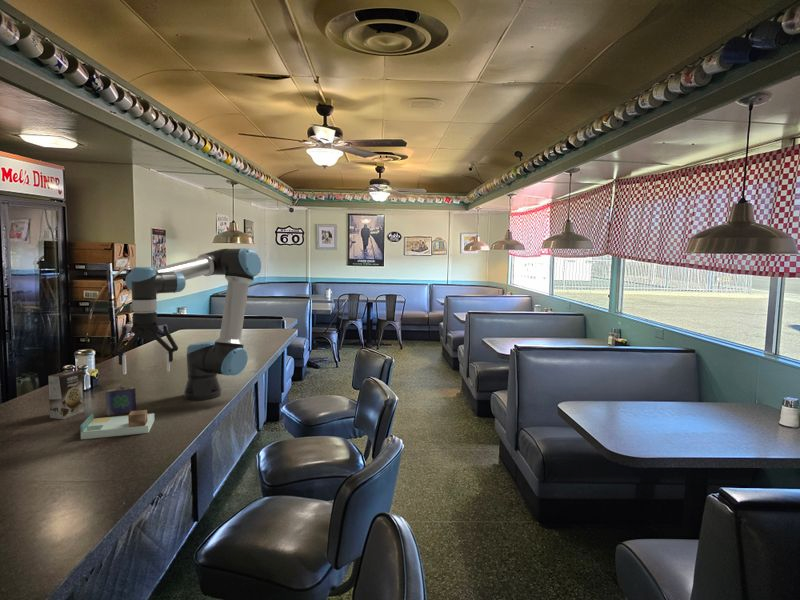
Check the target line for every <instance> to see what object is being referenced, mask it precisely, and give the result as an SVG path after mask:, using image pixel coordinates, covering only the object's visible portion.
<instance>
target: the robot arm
mask: <svg viewBox="0 0 800 600" xmlns="http://www.w3.org/2000/svg"><path fill="white" fill-rule="evenodd" d="M261 269H262V262H261V258H260V256H259V254H258V253H257V251H255V250H254V249H252V248H251V249H250V248H243V247H242V248H221V249H220V248H219V249H217V250H212V251H210V252H206V253H202V254H199V255H198V257H196V258H192V259H187V260H184V261H180V262H175V263H172V264H167V265H163V266H159V267H158V266H157V267H154V266H144V267H143V266H135V267H132V268H131V271H130V272H129V273H127V275H126V277H125V280H124V281H125V286H126V288H127V289H128V290H129V291H131V305H132V306H131V310H132V326H127V325H125V326H123V327H122V329H121V334H120V336H119V339H118V340H117V342H116V344H115V346H114V347H113V349H112V355H117V356H118V364H119V366H122V375H123V376H125V375H126V374H127V354H125V352H126V351H127V350H128V349H129V348H130V347H131V346H132V345H133V343H134V342H135V341H136V340H137V339H140V340H145V339H147V340H148V339H149V340H150V339H152V338H153V339H154V340H155V341H157V342H158V343H159V345H161V347H162V348H164V350H166V351H167V352H166V353H165V354H166V358H165V359H166V372H167V373H169V372H171V371H170V370H171V365H170V364H171V363H172V362H173V360H174V352H176V351H178V350H179V346H178V345H177V343H176V341H175V340H174V338H173V337H172V335H171V332H170V331H169V330H168V328H169V327H168V325H167V324H163V325H159V324H158V313H157V310H158V306H157V305H158V304H157V300H158V298H157V297H158V296H157V295H158V294H170V293H172V294H176V293H180V292H182V291H183V290H185V288H186V283H187V282H186V281H187V280H191V279H194V278H198V277H201V276H204V277H210V276H224V278H225V280H226V281H227V287H226V293H225V300H224V306H223V313H222V320H221V326H220V332H219V337H218V339H216V340H215V341H212V340H210V341H203V342H196V343H192V344H189V345H188V346H187V348H186V367H187V368H186V371H187V381H186V384H185V386H184V389H183V398H184V399H185V400H189V401H202V400H204V401H205V400H210V399H215V398H217V397H220V396H221V395H222V387H221V384H220V382H219V381H220V380H218V379H219V378H218V377H217V375H222V376H229V377H230V376H232V377H233V376H237V375H239V374H241V372H242V371H244V370H245V368H246V366H247V364H248V361H249V356H248V354H247V353H248V352H247V351H246V350H245V348H244V345H245V344H244V343H243V342H242V333H243V327H244V319H245V313H246V307H247V302H248V301H247V300H248V294H249V287H250V285H251V284H252V283H253V282H254V278H255V277H256V276H258V275H259V274H260V272H261ZM159 330H161V332H162V333H163V334H164V335H165V337H166V339H167V340H168V342H169V343H170V345H171V346H170V345H169V344H168V343H167V342H166V341H165V340H164V339H162V337H161V336H160V335H159V334H158V333H157V332H158V331H159ZM130 331H131V332H132V333H133V334H134V335H133V336H132V337H131V338H130V340H128V342H127V343H126V344H125V345H124V346H123V348H122V349H121V350H119V349H120V347H121V345H122V343H123V342H124V340H125V338H126V336H127V334H129V333H130Z"/></svg>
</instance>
